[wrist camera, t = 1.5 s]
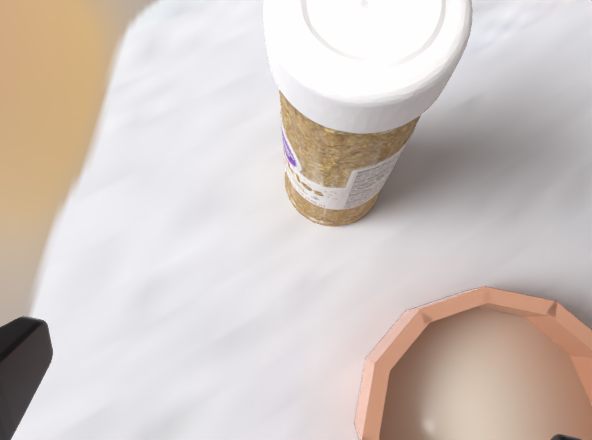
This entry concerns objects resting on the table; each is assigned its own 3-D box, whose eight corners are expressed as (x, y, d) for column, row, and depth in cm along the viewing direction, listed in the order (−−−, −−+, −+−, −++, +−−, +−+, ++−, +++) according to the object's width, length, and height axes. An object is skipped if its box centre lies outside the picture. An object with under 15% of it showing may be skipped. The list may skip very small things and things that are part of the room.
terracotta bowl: (589, 577, 20) (638, 621, 17) (337, 517, 20) (342, 549, 17) (608, 321, 22) (655, 321, 19) (379, 274, 23) (390, 266, 20)
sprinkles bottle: (267, 169, 24) (220, -28, 11) (346, 120, 24) (394, -127, 11) (320, 248, 23) (340, 140, 10) (400, 195, 23) (524, 25, 10)
